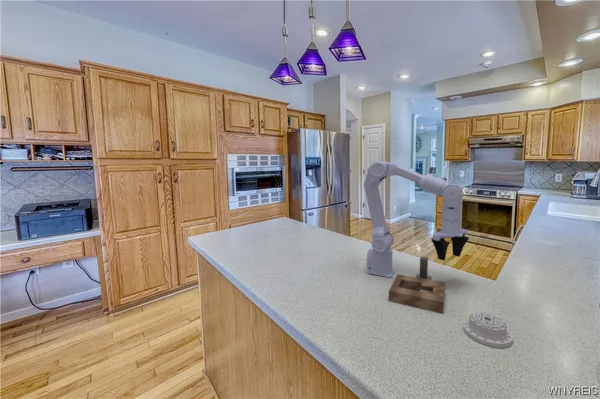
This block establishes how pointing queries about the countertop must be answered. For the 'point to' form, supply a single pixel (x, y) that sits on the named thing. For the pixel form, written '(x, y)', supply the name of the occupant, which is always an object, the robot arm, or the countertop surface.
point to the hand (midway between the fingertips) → (448, 257)
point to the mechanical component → (488, 330)
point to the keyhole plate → (418, 293)
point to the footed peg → (424, 269)
